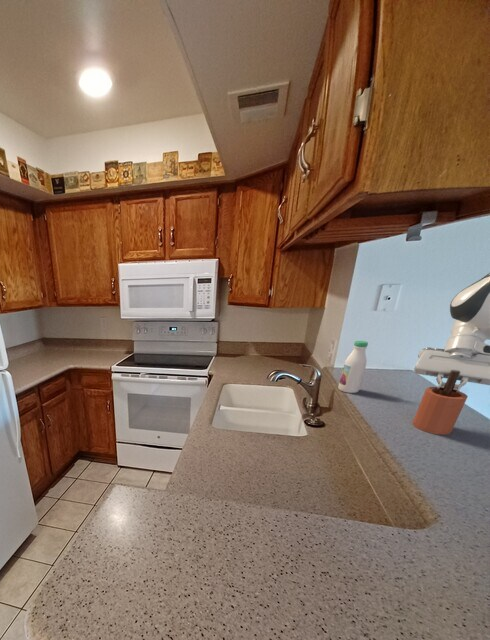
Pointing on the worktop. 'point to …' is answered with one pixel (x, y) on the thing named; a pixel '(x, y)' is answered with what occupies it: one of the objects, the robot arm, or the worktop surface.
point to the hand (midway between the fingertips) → (447, 389)
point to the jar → (438, 411)
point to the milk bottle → (354, 368)
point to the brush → (450, 383)
